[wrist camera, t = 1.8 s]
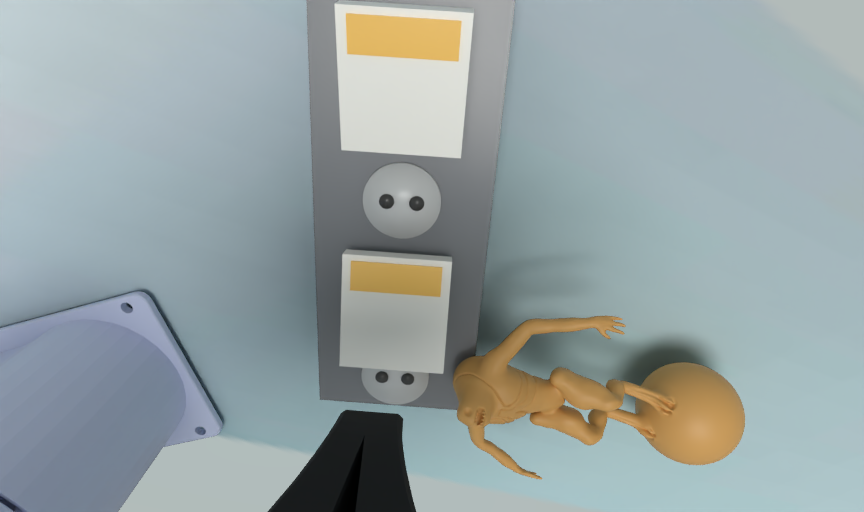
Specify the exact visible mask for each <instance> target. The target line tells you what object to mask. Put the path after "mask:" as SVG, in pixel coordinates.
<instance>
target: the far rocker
mask: <svg viewBox="0 0 864 512" xmlns="http://www.w3.org/2000/svg"><path fill="white" fill-rule="evenodd" d="M451 270H452V257H448V256H434V255H420V254H406V253H393V252H379V251H365V250H351V249H346V250H345V251H344V253H343V254H342V287H341V325H340V364H339V366H344V367H358V368H371V369H384V370H398V371H411V372H424V373H438V374H443V371H444V359H445V346H446V333H447V320H448V308H449V295H450V282H451Z"/></svg>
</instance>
